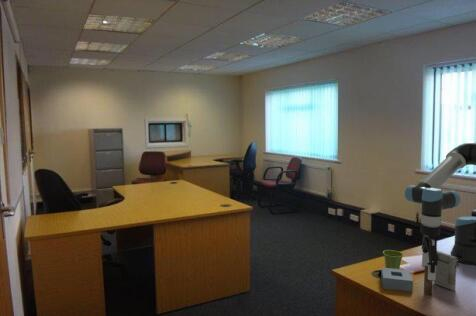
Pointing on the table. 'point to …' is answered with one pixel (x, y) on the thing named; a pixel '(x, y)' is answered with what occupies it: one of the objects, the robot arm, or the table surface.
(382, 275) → the bore block
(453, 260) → the handheld gaming console
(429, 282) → the pin
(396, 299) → the table surface
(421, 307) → the table surface
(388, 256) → the plant pot
